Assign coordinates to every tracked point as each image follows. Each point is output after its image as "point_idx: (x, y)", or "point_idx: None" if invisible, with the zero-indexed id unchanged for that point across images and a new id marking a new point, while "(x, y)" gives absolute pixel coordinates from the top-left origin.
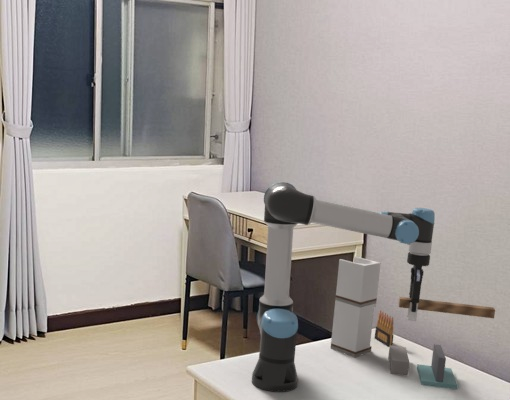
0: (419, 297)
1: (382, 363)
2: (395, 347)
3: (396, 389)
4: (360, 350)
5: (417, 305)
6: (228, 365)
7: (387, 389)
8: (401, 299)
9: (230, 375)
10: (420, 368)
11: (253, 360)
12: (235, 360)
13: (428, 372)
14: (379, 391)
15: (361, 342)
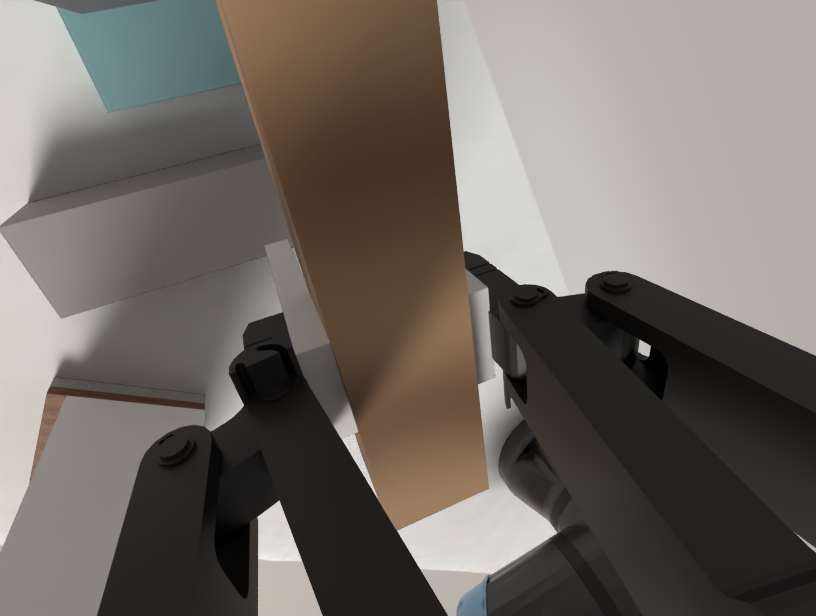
0: (698, 304)
1: (189, 284)
2: (71, 280)
3: (461, 157)
4: (161, 404)
5: (469, 277)
6: (490, 548)
7: (475, 189)
8: (484, 472)
9: (540, 515)
10: (175, 84)
11: (435, 542)
12: (455, 559)
13: (209, 26)
14: (504, 211)
15: (155, 431)
